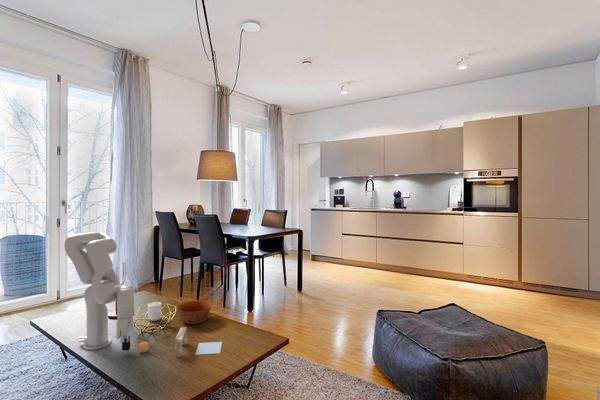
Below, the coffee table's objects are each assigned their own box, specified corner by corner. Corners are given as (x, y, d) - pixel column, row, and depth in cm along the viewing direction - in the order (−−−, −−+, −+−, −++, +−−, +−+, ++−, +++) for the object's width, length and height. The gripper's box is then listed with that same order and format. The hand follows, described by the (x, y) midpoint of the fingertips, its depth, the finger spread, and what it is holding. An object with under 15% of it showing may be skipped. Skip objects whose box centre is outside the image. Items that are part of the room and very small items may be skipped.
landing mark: (195, 354, 162) (195, 354, 162) (199, 343, 174) (199, 343, 174) (220, 353, 164) (220, 352, 164) (222, 342, 176) (222, 341, 176)
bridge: (174, 357, 159) (174, 339, 159) (180, 343, 173) (180, 327, 173) (181, 356, 160) (181, 339, 160) (186, 343, 174) (186, 327, 173)
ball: (136, 354, 161) (136, 344, 161) (139, 349, 166) (139, 340, 166) (147, 354, 162) (147, 344, 161) (150, 349, 167) (150, 339, 166)
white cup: (164, 318, 205) (164, 303, 205) (153, 323, 198) (153, 307, 198) (155, 316, 209) (155, 301, 208) (144, 320, 201) (144, 304, 201)
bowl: (201, 312, 217) (202, 297, 217) (218, 321, 202) (218, 306, 202) (170, 320, 202) (170, 304, 202) (186, 331, 187) (186, 314, 187)
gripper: (123, 308, 168) (124, 343, 169) (110, 319, 154) (111, 357, 154) (138, 307, 170) (139, 342, 170) (127, 318, 155) (128, 356, 155)
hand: (126, 349), depth 162 cm, fingers closed
